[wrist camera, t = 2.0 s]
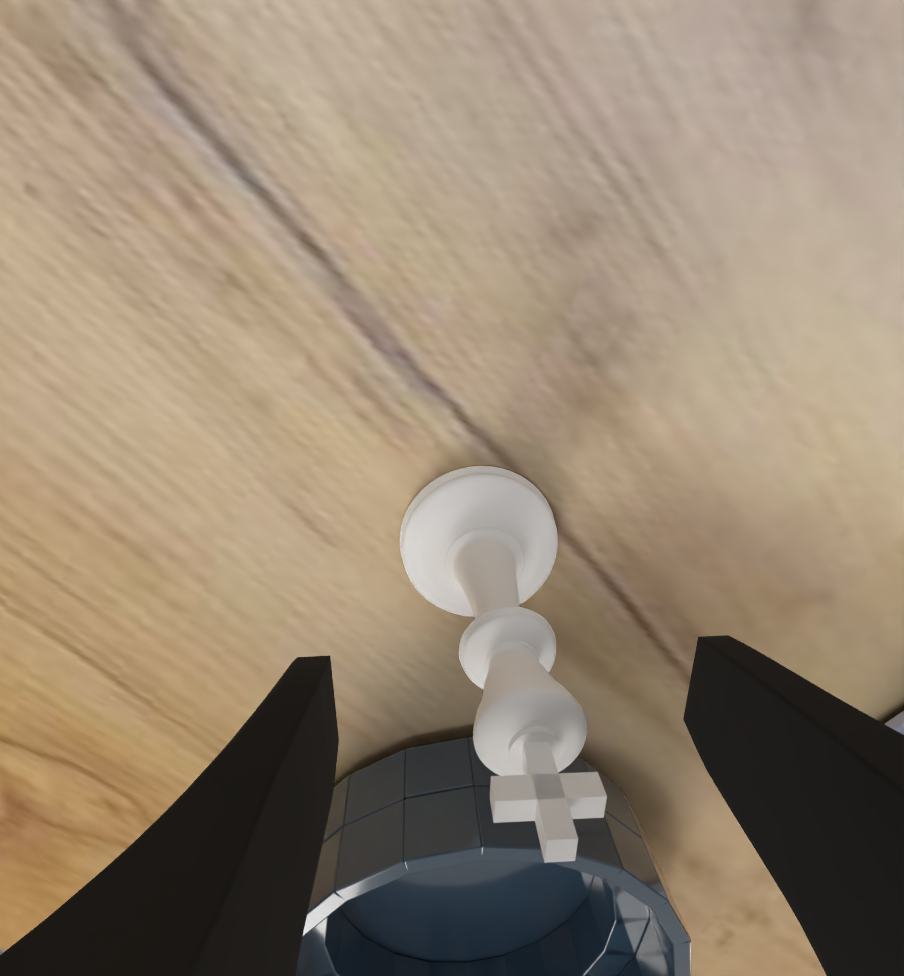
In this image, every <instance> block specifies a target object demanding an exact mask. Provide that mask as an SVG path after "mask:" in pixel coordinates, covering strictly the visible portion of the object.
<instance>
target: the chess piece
mask: <svg viewBox="0 0 904 976" xmlns="http://www.w3.org/2000/svg"><path fill="white" fill-rule="evenodd" d="M557 549H558V534H557V528H556V524H555V521H554V516H553V513H552V511H551V508H550V506H549V504H548V502H547V500H546V499H545V497H544V496H543V495H542V493H541V492H540V491H539V490H538V489H537V488H536V487H535V486H534V485H533V484H532V483H531V482H529V481H528V480H527V479H525V478H524V477H522V476H520V475H518V474H516V473H514V472H512V471H509V470H506V469H503V468H498V467H492V466H471V467H465V468H460V469H457V470H454V471H451V472H448V473H446V474H444V475H442V476H440V477H438V478H436V479H435V480H433V481H432V482H431V483H429V484H428V485H427V486H426V487H424V488H423V489H422V490H421V491H420V492H419V493H418V495H417V496H416V497H415V498H414V500H413V501H412V502H411V504H410V506H409V507H408V509H407V511H406V513H405V516H404V518H403V522H402V525H401V530H400V551H401V556H402V560H403V563H404V567H405V570H406V573H407V575H408V577H409V579H410V581H411V583H412V584H413V586H414V587H415V588H416V590H417V591H418V592H419V593H420V594H421V595H422V596H423V597H424V598H425V599H427V600H428V601H429V602H430V603H432V604H433V605H435V606H437V607H439V608H441V609H443V610H445V611H448V612H451V613H454V614H458V615H463V616H474V617H475V620H474V621H472V622H471V623H470V625H469V626H468V627H467V628H466V630H465V631H464V633H463V635H462V637H461V640H460V643H459V660H460V663H461V666H462V668H463V670H464V671H465V673H466V674H467V676H468V677H469V679H470V680H471V681H472V682H473V683H474V684H475V685H477V686H478V687H480V688H482V689H484V690H483V696H482V700H481V702H480V704H479V707H478V710H477V714H476V718H475V722H474V728H473V742H474V747H475V750H476V753H477V755H478V757H479V759H480V760H481V761H482V763H483V764H484V765H485V766H486V767H487V768H488V769H490V770H491V771H492V772H494V773H496V774H498V775H500V776H491V783H490V803H491V809H492V816H493V823H501V822H522V821H535V824H536V828H537V832H538V837H539V841H540V845H541V850H542V854H543V858H544V863H548V862H567V861H575V858H576V851H577V844H578V836H577V833H576V830H575V826H574V823H573V820H572V819H585V818H604V812H605V806H606V800H607V795H606V792H605V790H604V787H603V784H602V782H601V779H600V777H599V774H598V772H581V773H558V772H560V771H562V770H563V769H565V768H566V767H567V766H569V765H570V764H571V763H572V762H573V761H574V760H575V759H576V757H577V756H578V755H579V753H580V752H581V750H582V748H583V746H584V744H585V741H586V736H587V722H586V718H585V714H584V712H583V710H582V708H581V706H580V705H579V703H578V702H577V701H576V699H575V698H574V697H573V696H572V695H571V694H570V693H569V692H568V691H567V690H566V689H565V687H563V686H562V685H561V684H560V683H558V682H557V681H556V680H555V679H554V678H553V677H552V676H551V675H550V674H549V671H550V670H551V668H552V666H553V664H554V661H555V656H556V638H555V634H554V631H553V629H552V627H551V626H550V624H549V623H548V622H547V621H546V619H544V618H543V617H542V616H541V615H539V614H538V613H536V612H534V611H532V610H529V609H526V608H522V607H520V604H522V603H523V602H525V601H526V600H528V599H529V598H530V597H531V596H532V595H534V594H535V593H536V592H537V591H538V590H539V588H540V587H541V586H542V585H543V584H544V582H545V581H546V579H547V578H548V576H549V574H550V572H551V570H552V568H553V565H554V563H555V559H556V555H557Z"/></svg>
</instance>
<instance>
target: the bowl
mask: <svg viewBox="0 0 904 976" xmlns="http://www.w3.org/2000/svg"><path fill="white" fill-rule="evenodd" d="M581 772H598V774H599V777H600V779H601V782H602V784H603V787H604V790H605V792H606V795H607V800H606V806H605V812H604V818H585V819H572V820H573V823H574V826H575V830H576V833H577V836H578V844H577V851H576V858H575V861H567V862H548V863H544V858H543V854H542V850H541V845H540V841H539V837H538V832H537V828H536V824H535V821H522V822H501V823H493V816H492V809H491V803H490V783H491V776H500V775H498V774H496V773H494V772H492V771H491V770H490V769H488V768H487V767H486V766H485V765H484V764H483V763H482V761H481V760H480V759H479V757H478V755H477V753H476V750H475V747H474V742H473V737H469V738H460V739H455V740H449V741H444V742H439V743H433V744H428V745H422V746H417V747H411V748H407V749H406V750H401V751H399V752H397V753H395V754H392V755H390V756H388V757H386V758H384V759H382V760H379V761H377V762H375V763H373V764H371V765H369V766H366V767H364V768H362V769H360V770H358V771H356V772H353V773H352V774H349V775H348V776H347V777H345V778H344V779H343V780H342V781H341V782H340V783H339V784H337V785H336V786H335V787H334V789H333V797H332V802H331V807H330V811H329V816H328V821H327V825H326V830H325V835H324V839H323V844H322V849H321V853H320V858H319V863H318V867H317V872H316V876H315V881H314V885H313V890H312V895H311V899H310V904H309V908H308V913H307V918H306V922H305V927H304V931H303V936H302V942H301V947H300V953H299V958H298V964H297V969H296V976H691V939H690V936H689V934H688V931H687V929H686V927H685V925H684V922H683V920H682V918H681V915H680V913H679V911H678V908H677V906H676V904H675V901H674V899H673V897H672V894H671V892H670V890H669V888H668V885H667V883H666V881H665V878H664V876H663V874H662V871H661V869H660V867H659V864H658V862H657V860H656V857H655V855H654V853H653V850H652V848H651V846H650V843H649V841H648V839H647V837H646V834H645V832H644V830H643V827H642V825H641V823H640V821H639V820H638V818H637V816H636V814H635V812H634V811H633V809H632V807H631V805H630V803H629V802H628V800H627V798H626V796H625V794H624V793H623V791H622V789H621V788H620V787H618V786H617V785H616V784H614V783H613V782H612V781H611V780H609V779H608V778H607V777H605V776H604V775H603V774H602V773H600V772H599V771H598V770H596V769H595V768H594V767H593V766H591V765H590V764H589V763H587V762H586V761H585V760H583V759H581V758H579V757H576V759H575V760H574V761H573V762H572V763H571V764H570V765H569V766H567V767H566V768H565V769H563V770H562V771H560V772H558V773H581Z"/></svg>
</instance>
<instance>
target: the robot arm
mask: <svg viewBox="0 0 904 976" xmlns="http://www.w3.org/2000/svg"><path fill="white" fill-rule="evenodd" d="M684 722H685V724H686V726H687V728H688V731H689V733H690V735H691V737H692V740H693V742H694V744H695V746H696V749H697V751H698V753H699V755H700V757H701V759H702V761H703V763H704V765H705V767H706V769H707V771H708V773H709V775H710V776H711V778H712V780H713V781H714V783H715V785H716V786H717V788H718V790H719V791H720V793H721V795H722V796H723V798H724V799H725V801H726V803H727V804H728V806H729V808H730V809H731V811H732V813H733V814H734V816H735V817H736V819H737V821H738V822H739V824H740V825H741V827H742V829H743V830H744V832H745V834H746V835H747V837H748V838H749V840H750V842H751V843H752V845H753V846H754V848H755V850H756V851H757V853H758V854H759V856H760V858H761V859H762V861H763V862H764V864H765V866H766V867H767V869H768V871H769V872H770V874H771V875H772V877H773V879H774V880H775V882H776V883H777V885H778V887H779V888H780V890H781V891H782V893H783V895H784V896H785V898H786V900H787V902H788V903H789V905H790V907H791V909H792V910H793V912H794V914H795V916H796V917H797V919H798V921H799V923H800V924H801V926H802V928H803V930H804V932H805V934H806V936H807V938H808V940H809V942H810V944H811V946H812V948H813V949H814V951H815V953H816V955H817V957H818V959H819V961H820V963H821V965H822V967H823V969H824V971H825V973H826V975H827V976H904V711H902V712H901V713H899V714H898V715H896V716H895V717H894V718H892V719H891V720H889V721H888V722H886V723H885V724H883V723H881V722H879V721H877V720H875V719H874V718H872V717H870V716H868V715H866V714H865V713H863V712H861V711H859V710H858V709H856V708H854V707H852V706H850V705H849V704H847V703H845V702H843V701H842V700H840V699H838V698H837V697H835V696H833V695H831V694H830V693H828V692H826V691H824V690H823V689H821V688H819V687H818V686H816V685H814V684H813V683H811V682H809V681H807V680H806V679H804V678H802V677H801V676H799V675H797V674H796V673H794V672H792V671H791V670H789V669H787V668H785V667H784V666H782V665H780V664H779V663H777V662H775V661H774V660H772V659H770V658H768V657H767V656H765V655H763V654H762V653H760V652H758V651H756V650H755V649H753V648H751V647H749V646H747V645H746V644H744V643H742V642H740V641H738V640H736V639H734V638H732V637H730V636H728V635H727V636H707V637H698V641H697V647H696V652H695V658H694V663H693V669H692V674H691V680H690V685H689V691H688V696H687V702H686V708H685V713H684ZM338 743H339V738H338V728H337V719H336V709H335V699H334V689H333V680H332V670H331V660H330V656H315V657H297V658H296V659H295V660H294V661H293V662H292V663H291V665H290V666H289V667H288V669H287V670H286V671H285V673H284V674H283V676H282V677H281V678H280V680H279V681H278V682H277V684H276V685H275V686H274V687H273V689H272V690H271V691H270V693H269V694H268V695H267V697H266V698H265V699H264V700H263V702H262V703H261V704H260V706H259V707H258V708H257V709H256V711H255V712H254V713H253V714H252V716H251V717H250V718H249V719H248V720H247V722H246V723H245V724H244V725H243V726H242V728H241V729H240V730H239V731H238V733H237V734H236V735H235V736H234V737H233V739H232V740H231V741H230V742H229V743H228V745H227V746H226V747H225V748H224V749H223V750H222V751H221V753H220V754H219V755H218V756H217V757H216V758H215V759H214V760H213V761H212V763H211V764H210V765H209V766H208V767H207V768H206V769H205V770H204V771H203V772H202V774H201V775H200V776H199V777H198V778H197V779H196V780H195V781H194V782H193V783H192V785H191V786H190V787H189V788H188V789H187V790H186V791H185V792H184V793H183V794H182V795H181V796H180V797H179V798H178V799H177V800H176V801H175V802H174V803H173V804H172V806H171V807H170V808H169V809H168V810H167V811H166V812H165V813H164V814H163V815H162V816H161V817H160V818H159V819H158V820H157V821H156V822H154V823H153V824H152V825H151V826H150V827H149V828H148V829H147V830H146V831H145V832H144V833H143V834H142V835H141V836H140V837H139V838H138V839H137V840H136V841H135V842H134V843H133V844H132V845H130V846H129V847H128V848H127V849H126V850H125V851H124V852H123V853H122V854H121V855H119V856H118V857H117V858H116V859H115V860H114V861H113V862H112V863H111V864H109V865H108V866H107V867H106V868H105V869H104V870H103V871H102V872H100V873H99V874H98V875H97V876H96V877H95V878H93V879H92V880H91V881H90V882H89V883H88V884H86V885H85V886H84V887H83V888H82V889H81V890H79V891H78V892H77V893H76V894H75V895H74V896H72V897H71V898H70V899H69V900H68V901H67V902H65V903H64V904H63V905H62V906H61V907H60V908H59V909H57V910H56V911H55V912H54V913H53V914H51V915H50V916H49V917H48V918H47V919H45V920H44V921H43V922H42V923H40V924H39V925H38V926H37V927H35V928H34V929H33V930H32V931H30V932H29V933H28V934H27V935H25V936H24V937H23V938H21V939H20V940H19V941H18V942H16V943H15V944H14V945H13V946H11V947H10V948H9V949H8V950H6V951H5V952H4V953H3V954H1V955H0V976H296V969H297V964H298V958H299V953H300V947H301V942H302V936H303V931H304V927H305V922H306V918H307V913H308V908H309V904H310V899H311V895H312V890H313V885H314V881H315V876H316V872H317V867H318V863H319V858H320V853H321V849H322V844H323V839H324V835H325V830H326V825H327V821H328V816H329V811H330V807H331V802H332V797H333V789H334V781H335V772H336V762H337V752H338Z"/></svg>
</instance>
